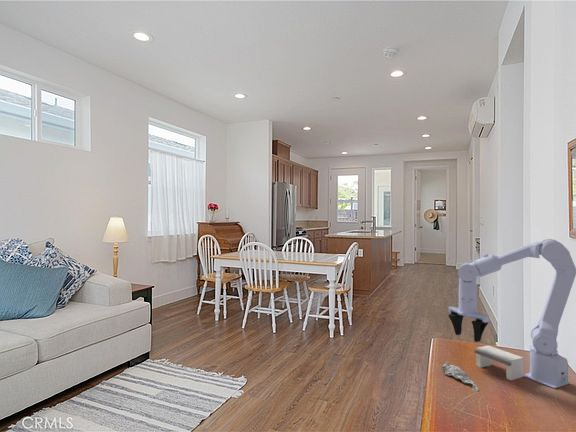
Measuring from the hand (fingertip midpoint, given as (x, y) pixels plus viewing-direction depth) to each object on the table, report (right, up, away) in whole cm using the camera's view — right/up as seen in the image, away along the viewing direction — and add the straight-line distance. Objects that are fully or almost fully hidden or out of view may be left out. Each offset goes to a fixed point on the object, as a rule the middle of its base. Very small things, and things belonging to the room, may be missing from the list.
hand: (467, 337), depth 127 cm
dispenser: (+8, -9, -5) cm, 13 cm away
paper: (-8, -10, -11) cm, 17 cm away
